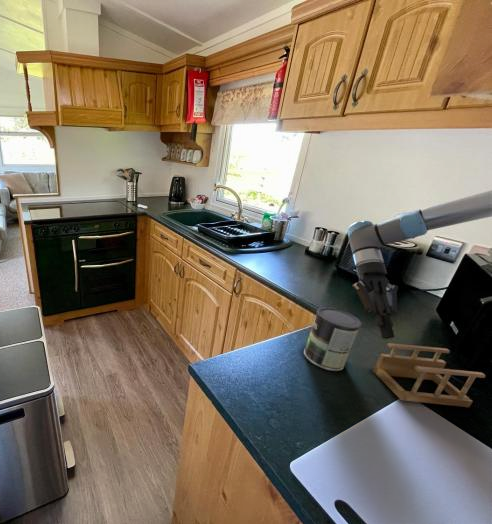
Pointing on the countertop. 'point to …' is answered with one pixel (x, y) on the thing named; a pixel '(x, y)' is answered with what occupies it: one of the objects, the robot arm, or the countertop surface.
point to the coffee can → (331, 338)
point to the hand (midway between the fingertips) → (388, 337)
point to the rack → (423, 376)
